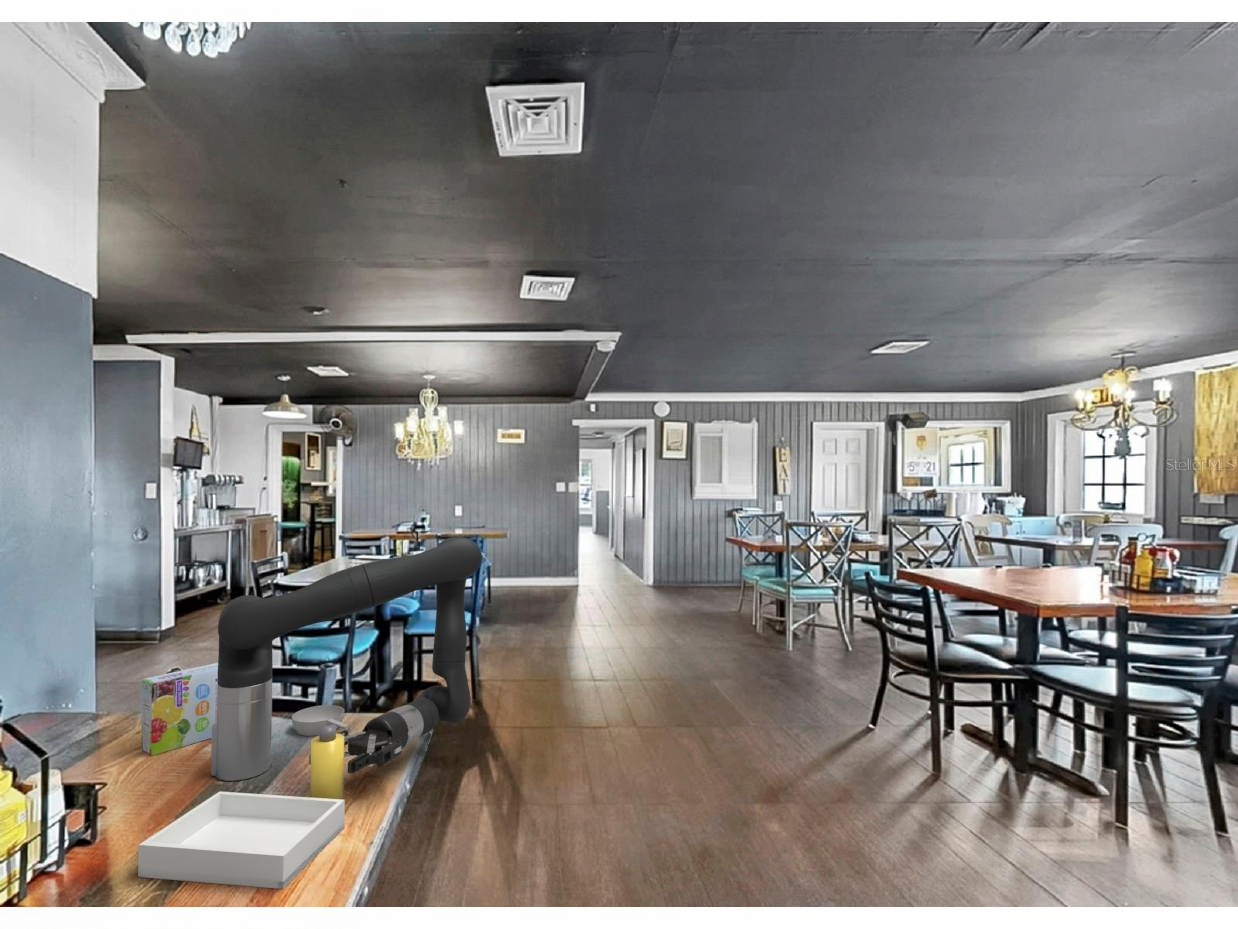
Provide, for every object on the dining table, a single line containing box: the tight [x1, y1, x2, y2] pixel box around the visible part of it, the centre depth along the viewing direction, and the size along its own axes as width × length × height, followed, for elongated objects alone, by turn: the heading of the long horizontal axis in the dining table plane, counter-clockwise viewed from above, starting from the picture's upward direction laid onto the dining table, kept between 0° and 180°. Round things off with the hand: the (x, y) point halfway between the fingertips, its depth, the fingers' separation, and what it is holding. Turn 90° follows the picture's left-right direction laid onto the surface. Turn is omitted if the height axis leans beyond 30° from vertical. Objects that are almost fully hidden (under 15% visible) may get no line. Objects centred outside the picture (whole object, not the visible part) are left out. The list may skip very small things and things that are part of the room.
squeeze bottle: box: [309, 725, 345, 800], centre depth 113 cm, size 5×5×14 cm
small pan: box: [291, 704, 349, 737], centre depth 147 cm, size 11×18×4 cm, turn 50°
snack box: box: [141, 662, 218, 757], centre depth 144 cm, size 21×6×15 cm, turn 144°
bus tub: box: [137, 791, 346, 890], centre depth 100 cm, size 22×16×4 cm
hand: (329, 764), depth 113 cm, fingers open, 8 cm apart
